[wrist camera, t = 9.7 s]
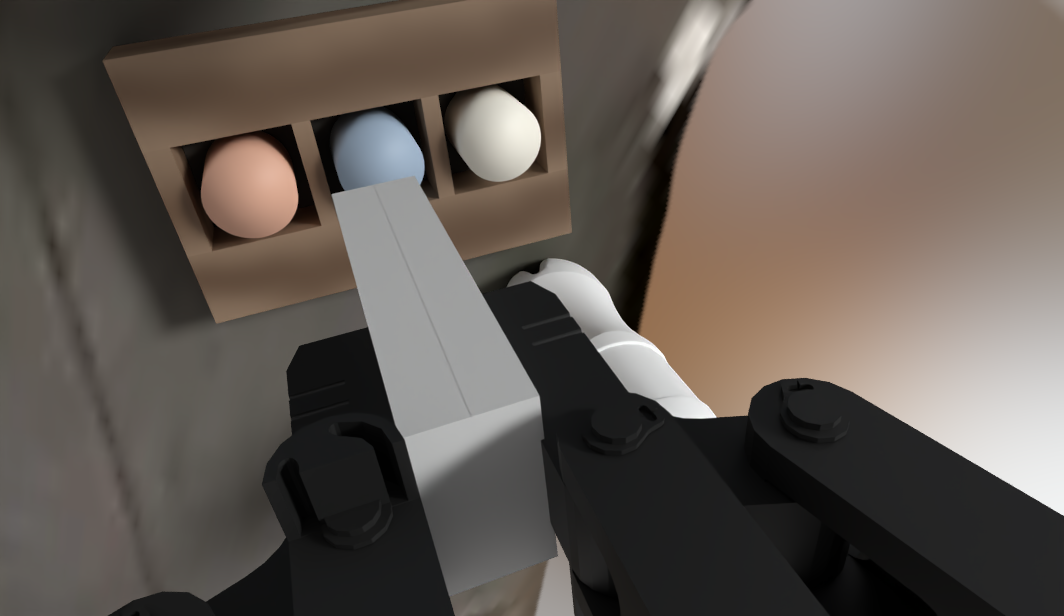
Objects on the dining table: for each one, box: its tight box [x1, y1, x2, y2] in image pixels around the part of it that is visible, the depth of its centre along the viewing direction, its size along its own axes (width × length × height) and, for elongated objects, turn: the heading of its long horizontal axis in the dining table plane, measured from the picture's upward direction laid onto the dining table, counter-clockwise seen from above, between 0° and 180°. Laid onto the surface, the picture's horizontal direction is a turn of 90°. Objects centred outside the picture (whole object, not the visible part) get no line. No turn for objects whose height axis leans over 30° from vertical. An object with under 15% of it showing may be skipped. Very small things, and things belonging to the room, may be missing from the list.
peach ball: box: [201, 130, 298, 238], centre depth 35 cm, size 4×4×4 cm
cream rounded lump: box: [444, 84, 541, 182], centre depth 38 cm, size 4×4×4 cm
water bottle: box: [507, 258, 717, 419], centre depth 38 cm, size 7×7×25 cm
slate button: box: [329, 106, 424, 191], centre depth 37 cm, size 4×4×4 cm
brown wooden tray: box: [102, 0, 572, 324], centre depth 37 cm, size 14×21×3 cm, turn 98°
